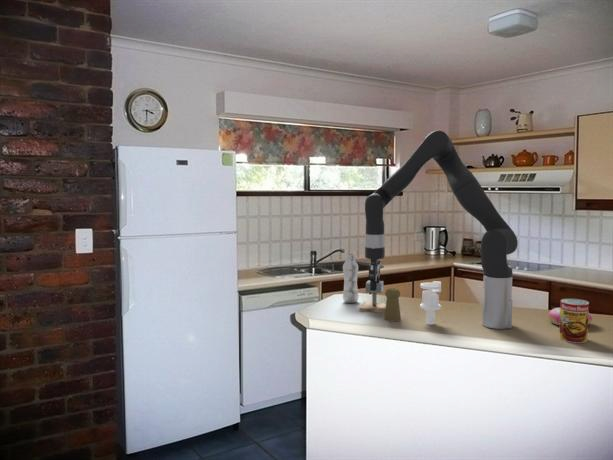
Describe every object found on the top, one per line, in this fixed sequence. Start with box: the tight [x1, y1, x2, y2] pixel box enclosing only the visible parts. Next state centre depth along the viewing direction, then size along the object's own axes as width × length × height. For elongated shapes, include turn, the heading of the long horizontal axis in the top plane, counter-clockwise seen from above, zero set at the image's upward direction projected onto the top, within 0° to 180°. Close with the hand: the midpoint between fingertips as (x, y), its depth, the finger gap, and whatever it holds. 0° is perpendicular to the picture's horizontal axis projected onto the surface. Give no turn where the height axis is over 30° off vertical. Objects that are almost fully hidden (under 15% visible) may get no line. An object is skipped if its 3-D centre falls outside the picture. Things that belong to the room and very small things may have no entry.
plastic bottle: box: [342, 253, 360, 304], centre depth 216 cm, size 6×7×20 cm
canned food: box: [558, 298, 590, 344], centre depth 165 cm, size 8×8×12 cm
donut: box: [548, 307, 593, 327], centre depth 183 cm, size 14×13×5 cm
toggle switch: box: [358, 293, 386, 314], centre depth 206 cm, size 10×10×8 cm
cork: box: [383, 287, 402, 322], centre depth 191 cm, size 6×6×11 cm
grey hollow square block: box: [365, 279, 385, 294], centre depth 206 cm, size 6×6×4 cm
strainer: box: [419, 280, 442, 326], centre depth 184 cm, size 7×7×15 cm
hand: (374, 288), depth 206 cm, fingers closed on grey hollow square block, 6 cm apart
